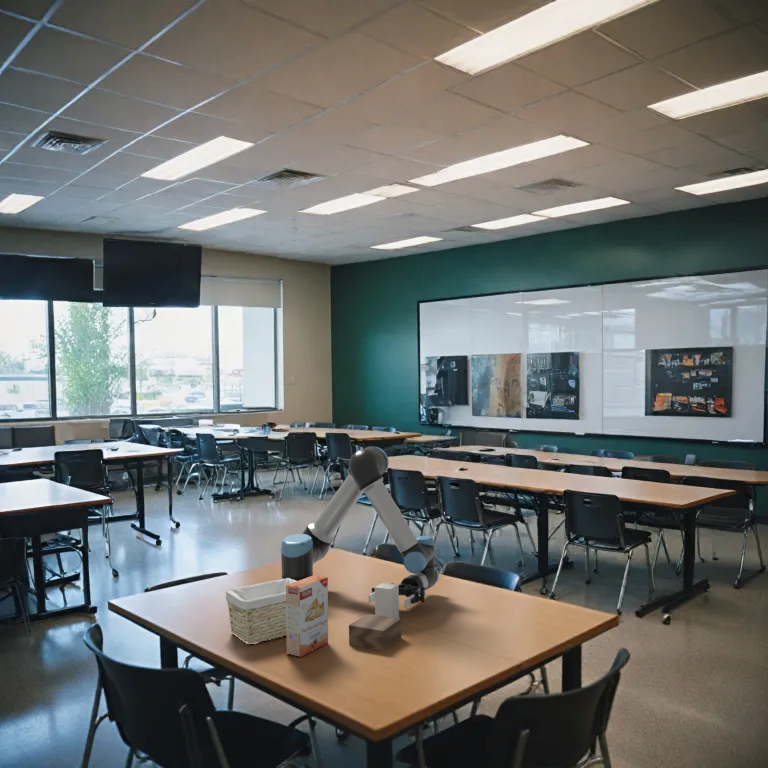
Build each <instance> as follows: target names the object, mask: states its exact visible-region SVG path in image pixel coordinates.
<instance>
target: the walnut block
mask: <svg viewBox="0 0 768 768" xmlns="http://www.w3.org/2000/svg"><path fill="white" fill-rule="evenodd" d="M400 638H401V639H402V619H401V618H399V619H398V618H392V617H385V616H379V615H375V614H371V613H367V614H365V615H364V616H361V617H360V618H359V619H357V620H355V621H353V622H352V623H350V624H348V644H350V645H349V646H354V645H355V647H360V646H361V647H360V648H367V649H370V650H376V649H377V651H382V650H383V651H382V652H384V651H385V650H387V649H388V648H390V647H391V646H392V645H394V644H395V643H396V642H398V641H399V640H401V639H400ZM398 639H399V640H398ZM397 640H398V641H397ZM395 641H396V642H395ZM394 642H395V643H394ZM393 643H394V644H393ZM390 645H391V646H390ZM386 648H387V649H386Z"/></svg>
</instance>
